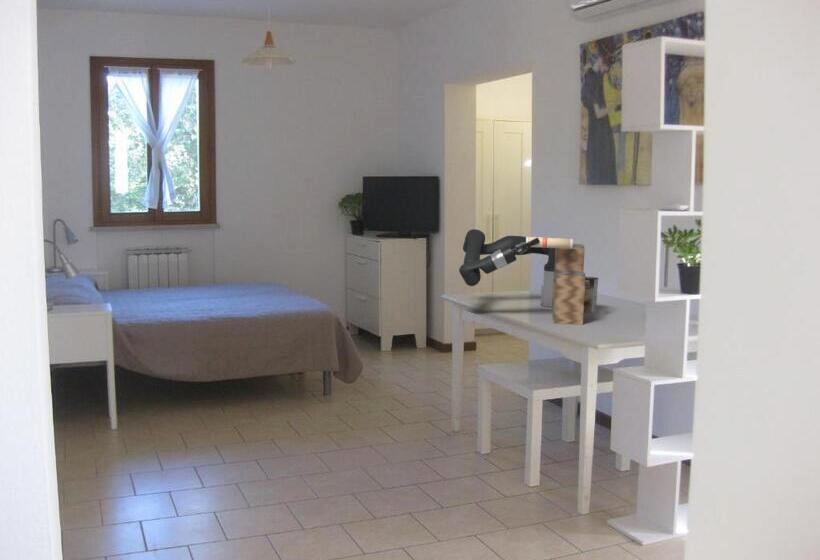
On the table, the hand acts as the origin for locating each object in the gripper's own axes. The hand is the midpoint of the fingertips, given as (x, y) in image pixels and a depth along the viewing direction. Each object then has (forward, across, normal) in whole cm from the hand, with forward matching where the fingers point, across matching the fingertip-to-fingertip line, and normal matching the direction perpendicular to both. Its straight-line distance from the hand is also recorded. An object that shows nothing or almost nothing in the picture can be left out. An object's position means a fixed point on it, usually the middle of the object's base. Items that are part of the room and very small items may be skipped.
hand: (538, 239), depth 383 cm
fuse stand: (-5, -5, -38) cm, 39 cm away
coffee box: (+4, -36, -44) cm, 57 cm away
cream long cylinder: (+2, 0, -5) cm, 6 cm away
